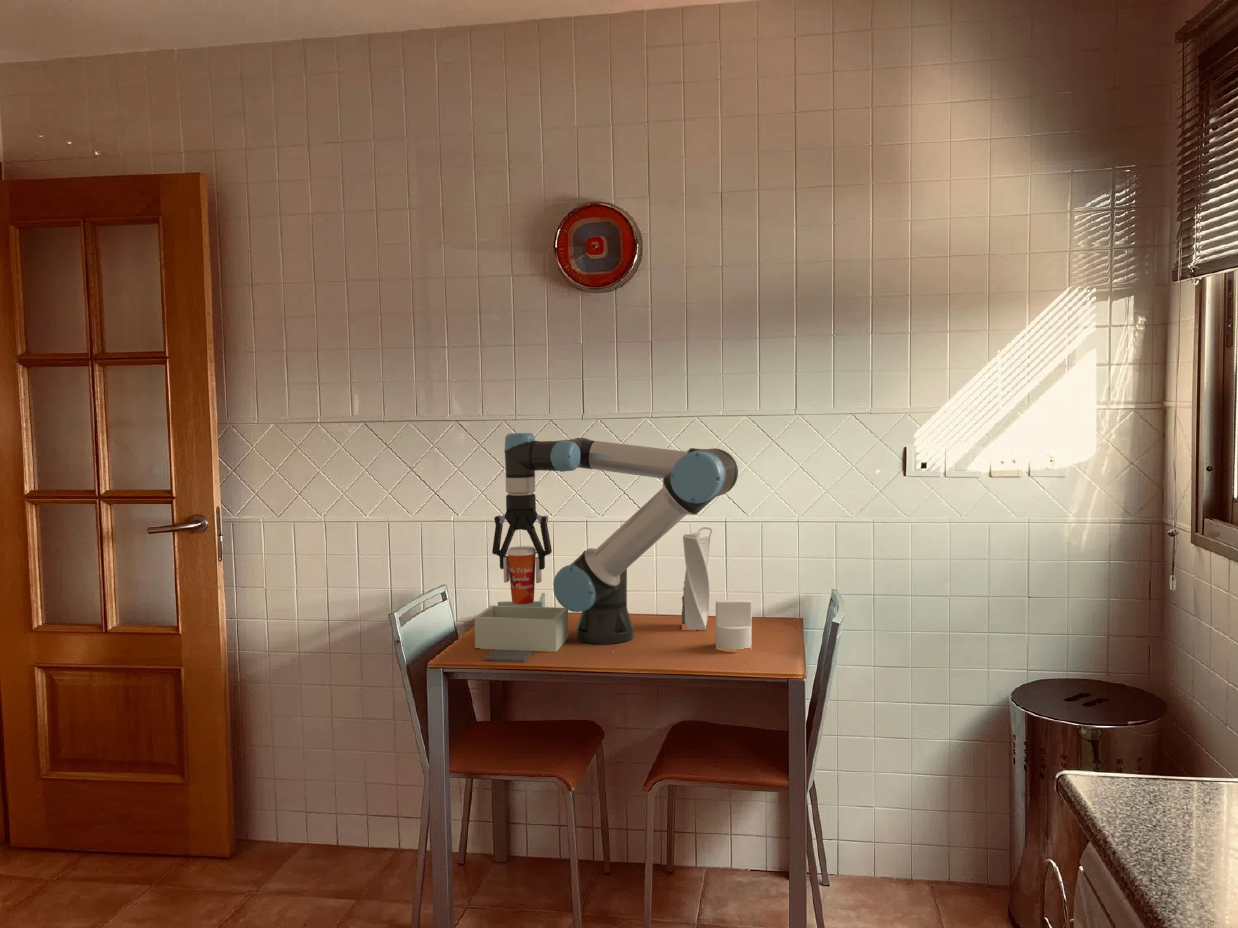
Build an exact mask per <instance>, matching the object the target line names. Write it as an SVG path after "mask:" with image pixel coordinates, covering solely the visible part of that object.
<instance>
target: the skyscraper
mask: <svg viewBox="0 0 1238 928" xmlns="http://www.w3.org/2000/svg"><path fill="white" fill-rule="evenodd" d="M703 530H709V531H710V532H709V535H708V536H707V535H703V533H702V532H701V531H703ZM712 532H713V529H712V528H710V527H707V526H706V527H702V528H700V529H698V531H697V532H691V534H687V533H686V534H683V536H682V541H683V553H684V561H685V562H684V563H685V573H684V574H685V575H684V581H683V587H682V589H683V591H682V592H683V595H682V596H681V600H682V601H681V602H682V606H681V607H682V608H681V618H682V619H681V624H686V629H706V625H707V626H708V619H709V611H710V610H709V609H710V582H709V581H710V579H709V574H708V573H709V572H708V569H707V566H708V560H709V553H710V543H711V535H712Z"/></svg>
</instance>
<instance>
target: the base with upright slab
mask: <svg viewBox="0 0 1238 928" xmlns="http://www.w3.org/2000/svg"><path fill="white" fill-rule="evenodd" d="M752 601H753V600H751V599H715V648H716V647H718V648H724V649H734V650H736V649H744V648H750V647H751V648H752V646H751V645H752V639H753V638H752V630H753V629H752V626H753V625H752V621H753V619H752V614H753V613H752V611H753V610H752V609H753V608H752V606H753V605H752V603H753V602H752Z"/></svg>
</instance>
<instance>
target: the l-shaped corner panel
mask: <svg viewBox="0 0 1238 928" xmlns="http://www.w3.org/2000/svg"><path fill="white" fill-rule="evenodd" d="M497 606H523V607H546V593H545V592H541V594H540V597H539V600H534V602H533V603H529V604H514V603H512V600H510V601H506V600H505V601H504V600H503V601H497Z"/></svg>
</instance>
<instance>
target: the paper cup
mask: <svg viewBox="0 0 1238 928" xmlns="http://www.w3.org/2000/svg"><path fill="white" fill-rule="evenodd" d="M536 554H537V551H536V549H535V547H534V546H531V545H530V546H529V545H518V546H511V547H509V548H508V550H507V554H506V555H507V556H508V563H509V574H510V581H509V584H510V595H511V596H510V597H511V601H512V603H514V604H529V603H533V602H534V601H535V586H536V585H535V583H536V557H537V556H536ZM537 555H538V554H537Z"/></svg>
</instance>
